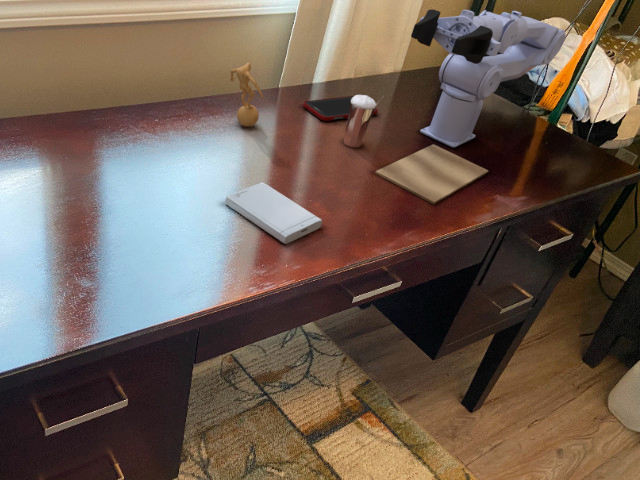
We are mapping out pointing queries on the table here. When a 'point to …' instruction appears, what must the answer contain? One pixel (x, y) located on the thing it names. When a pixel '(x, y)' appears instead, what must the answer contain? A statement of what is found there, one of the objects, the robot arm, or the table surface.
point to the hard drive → (273, 212)
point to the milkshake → (358, 119)
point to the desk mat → (432, 173)
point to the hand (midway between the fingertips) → (434, 38)
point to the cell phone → (331, 108)
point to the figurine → (247, 112)
